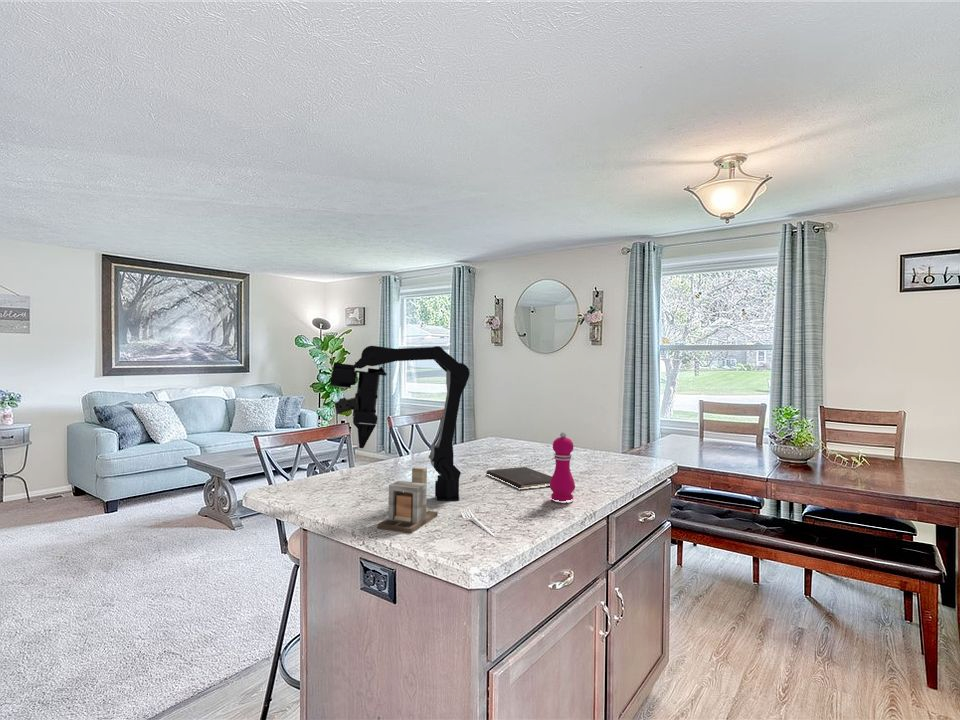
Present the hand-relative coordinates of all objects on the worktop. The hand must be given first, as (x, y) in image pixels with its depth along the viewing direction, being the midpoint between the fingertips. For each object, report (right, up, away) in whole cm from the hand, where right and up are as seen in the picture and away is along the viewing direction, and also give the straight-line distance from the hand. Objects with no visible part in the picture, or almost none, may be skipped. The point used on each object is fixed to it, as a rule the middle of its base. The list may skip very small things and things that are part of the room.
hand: (360, 445), depth 144 cm
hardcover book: (+48, -18, +30) cm, 59 cm away
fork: (+33, -17, -18) cm, 42 cm away
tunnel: (+16, -16, -17) cm, 28 cm away
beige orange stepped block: (+16, -15, -15) cm, 27 cm away
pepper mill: (+57, -17, +5) cm, 60 cm away
